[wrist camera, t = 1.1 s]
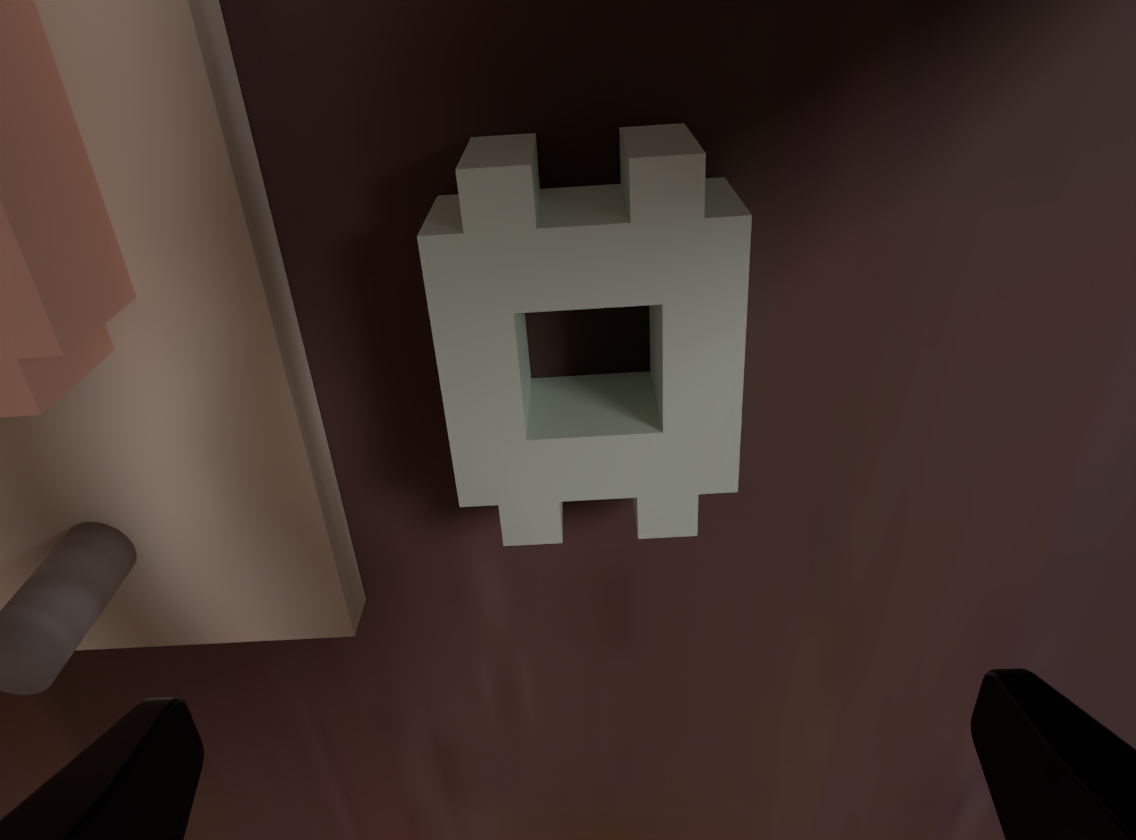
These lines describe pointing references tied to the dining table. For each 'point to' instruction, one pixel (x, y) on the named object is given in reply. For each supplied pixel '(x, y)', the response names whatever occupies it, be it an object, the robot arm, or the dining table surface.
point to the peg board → (172, 383)
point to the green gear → (587, 281)
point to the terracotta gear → (48, 230)
